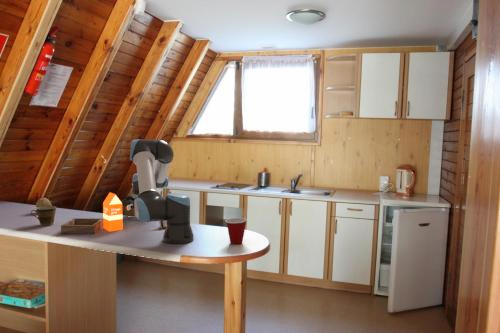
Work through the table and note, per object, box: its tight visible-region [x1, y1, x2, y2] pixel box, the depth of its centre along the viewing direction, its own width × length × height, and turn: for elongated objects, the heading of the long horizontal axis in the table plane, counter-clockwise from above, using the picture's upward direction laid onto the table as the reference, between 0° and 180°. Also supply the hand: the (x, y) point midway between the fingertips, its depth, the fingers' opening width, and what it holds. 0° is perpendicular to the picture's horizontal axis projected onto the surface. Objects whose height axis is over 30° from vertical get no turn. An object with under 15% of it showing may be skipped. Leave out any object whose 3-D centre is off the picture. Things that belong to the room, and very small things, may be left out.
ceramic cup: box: [30, 205, 57, 227], centre depth 230 cm, size 13×10×10 cm
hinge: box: [158, 220, 167, 229], centre depth 235 cm, size 17×5×10 cm, turn 150°
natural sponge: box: [35, 197, 53, 208], centre depth 262 cm, size 9×9×10 cm
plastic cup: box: [224, 217, 248, 246], centre depth 201 cm, size 11×11×12 cm
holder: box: [60, 217, 104, 235], centre depth 222 cm, size 17×17×4 cm
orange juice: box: [102, 192, 124, 232], centre depth 224 cm, size 8×9×20 cm
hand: (116, 207), depth 230 cm, fingers open, 13 cm apart
